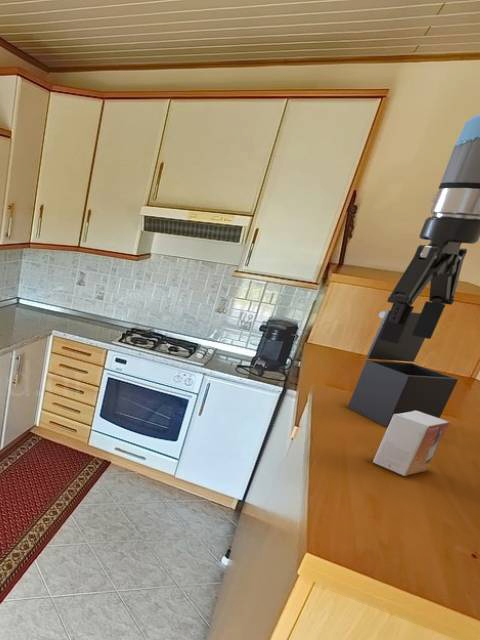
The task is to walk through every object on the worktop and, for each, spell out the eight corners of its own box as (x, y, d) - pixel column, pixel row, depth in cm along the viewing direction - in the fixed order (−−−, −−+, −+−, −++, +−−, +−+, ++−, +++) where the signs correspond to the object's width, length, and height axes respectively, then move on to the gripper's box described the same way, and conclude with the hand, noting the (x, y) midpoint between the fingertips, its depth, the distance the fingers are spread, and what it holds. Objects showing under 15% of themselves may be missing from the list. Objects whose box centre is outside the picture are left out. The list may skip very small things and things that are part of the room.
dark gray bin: (434, 429, 114) (458, 379, 110) (386, 427, 113) (409, 376, 109) (391, 409, 125) (411, 362, 120) (347, 407, 124) (366, 359, 119)
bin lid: (436, 314, 115) (415, 308, 120) (389, 310, 114) (369, 305, 119) (413, 361, 120) (394, 354, 125) (368, 358, 119) (350, 351, 124)
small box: (404, 477, 90) (428, 426, 86) (371, 462, 95) (392, 413, 91) (427, 471, 93) (451, 421, 90) (393, 457, 98) (415, 409, 94)
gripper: (456, 220, 91) (410, 330, 98) (397, 210, 79) (349, 337, 86) (511, 223, 85) (457, 340, 92) (456, 214, 73) (400, 349, 80)
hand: (405, 339), depth 89 cm, fingers open, 13 cm apart
